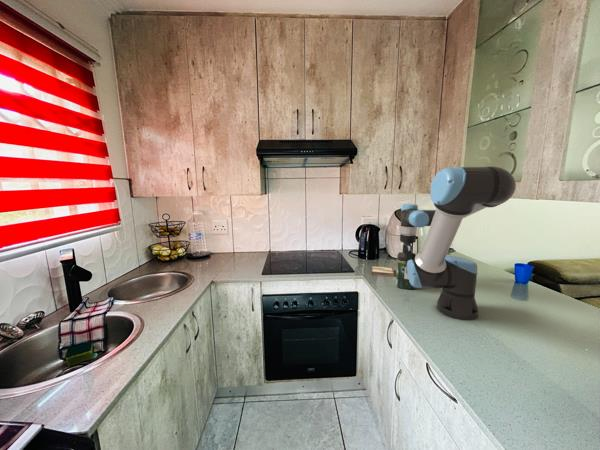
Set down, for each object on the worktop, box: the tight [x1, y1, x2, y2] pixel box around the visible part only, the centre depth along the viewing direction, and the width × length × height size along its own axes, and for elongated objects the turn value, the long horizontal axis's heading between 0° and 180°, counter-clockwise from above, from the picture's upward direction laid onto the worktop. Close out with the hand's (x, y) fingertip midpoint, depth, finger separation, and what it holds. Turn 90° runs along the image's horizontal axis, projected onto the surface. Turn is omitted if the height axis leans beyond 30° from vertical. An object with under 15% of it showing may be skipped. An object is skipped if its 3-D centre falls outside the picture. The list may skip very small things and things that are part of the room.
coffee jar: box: [395, 251, 417, 290], centre depth 132 cm, size 10×8×19 cm
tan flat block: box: [370, 265, 395, 278], centre depth 155 cm, size 11×13×2 cm
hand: (405, 274), depth 132 cm, fingers open, 11 cm apart
